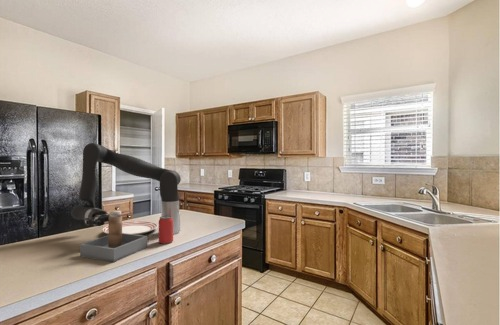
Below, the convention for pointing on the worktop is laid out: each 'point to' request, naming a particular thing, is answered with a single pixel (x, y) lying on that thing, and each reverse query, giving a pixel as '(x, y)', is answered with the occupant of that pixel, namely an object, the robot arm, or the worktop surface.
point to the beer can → (165, 229)
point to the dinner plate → (135, 227)
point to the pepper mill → (115, 229)
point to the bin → (102, 252)
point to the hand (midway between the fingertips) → (110, 221)
